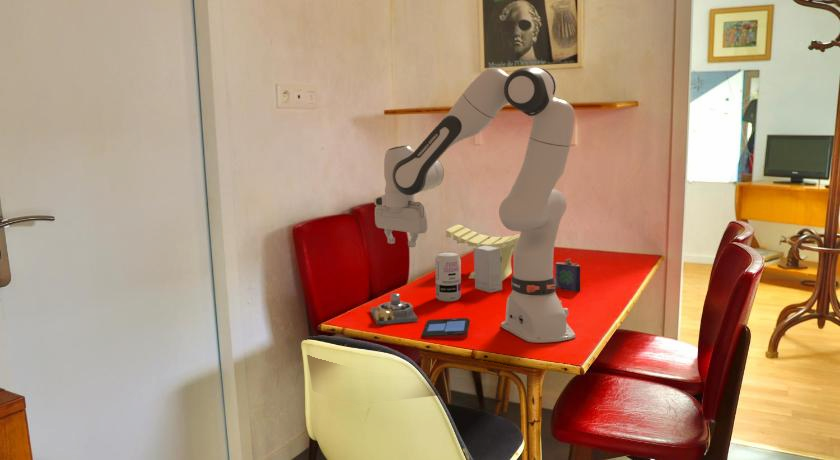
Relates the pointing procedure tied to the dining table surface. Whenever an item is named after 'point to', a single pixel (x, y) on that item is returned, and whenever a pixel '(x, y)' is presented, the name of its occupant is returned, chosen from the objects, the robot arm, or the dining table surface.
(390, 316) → the carrier board
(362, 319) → the dining table surface
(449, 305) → the dining table surface
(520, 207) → the robot arm
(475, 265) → the skincare box
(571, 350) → the dining table surface
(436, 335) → the game console
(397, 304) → the planet gear
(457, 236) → the slatted curved stool
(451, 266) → the supplement can
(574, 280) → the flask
